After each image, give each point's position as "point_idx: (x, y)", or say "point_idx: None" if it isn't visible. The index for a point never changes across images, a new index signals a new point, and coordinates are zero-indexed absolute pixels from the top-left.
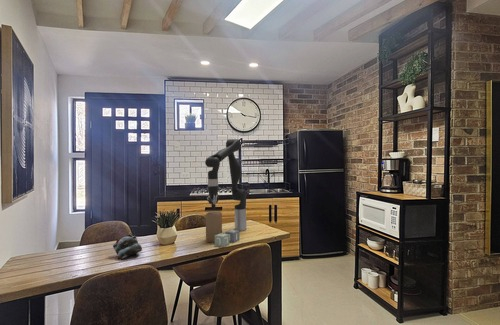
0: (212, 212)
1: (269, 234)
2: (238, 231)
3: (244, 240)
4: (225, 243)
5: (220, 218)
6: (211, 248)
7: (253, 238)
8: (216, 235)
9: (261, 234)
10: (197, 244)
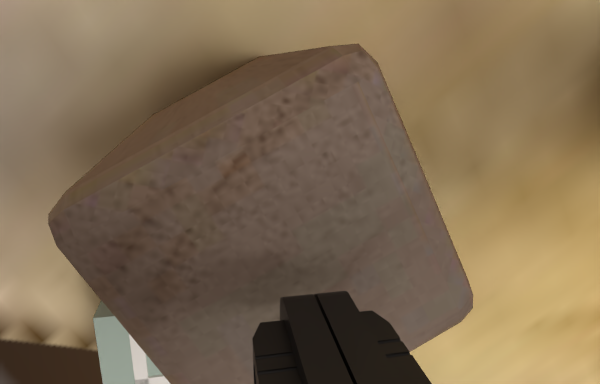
0: (315, 221)
1: (582, 379)
2: None
3: None
4: None
5: None
6: (33, 301)
7: (449, 363)
8: (104, 335)
9: (567, 338)
10: (33, 95)
